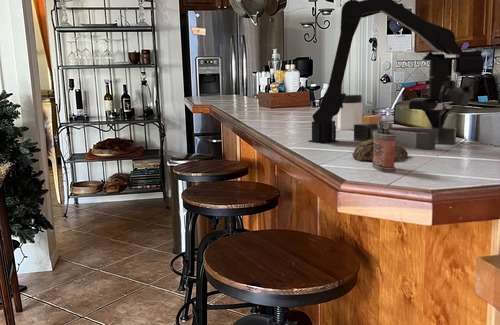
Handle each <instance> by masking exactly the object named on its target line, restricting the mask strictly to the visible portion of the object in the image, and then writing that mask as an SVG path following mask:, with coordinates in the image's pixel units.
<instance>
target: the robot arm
mask: <svg viewBox="0 0 500 325" xmlns="http://www.w3.org/2000/svg"><path fill="white" fill-rule="evenodd" d="M340 13H341V16H340V34H339V39H338V44H337V48H336V52H335V56H334V57H335V58H334V60H333V66H332V69H331V74H330V78H329V82H328V85H327V87H326V89H325V92H324V95H323V96H322V99H321V101H320V104H319V108H318V109H317V110H316V111H315V112H314V113H313V114H312V119H313V121H311V139H309V140H308V141H307V142H309V143H312V144H313V143H315V144H322V145H324V144H332V143H339V142H340V141H339V140H338V139H336V138H337V135H336V134H337V126H336V121H335V120H333V118H334V117H335V116H338V113H339V111H340V107H341V108H342V109H343V100H344V98H345V96H346V95H347V93H345V92H342V90H343V88H342V87H343V86H342V85H343V82H344V77H345V72H346V69H347V63H348V61H349V56H350V52H351V47H352V43H353V40H354V39H353V38H354V36H355V33H356V31H357V29H358V26H359V25H360V22H361V20H362V19H363V18H367V17H371V16H372V15H376V14H380V13H382V14H384V15H385V16H387V17H389V18H391V19H392V20H394V21H396V23H398V24H400V25H401V26H403V27H405V28H407V29H409V30H410V31H412V33H414V34H416V35H417V36H418V37H419V38H420V39H421V40H422V42H424V44H426V45H427V46H428V47H429V48H430V49H431V50H432V51H434V52H437V53H433V52H432V51H428V52H427V53H426V55H424V56H423V57H422V59H421V60H422V61H429V70H428V71H429V72H428V73H429V74H428V77H429V78H428V80H426V81H425V85H428V92H427V94H428V95H425V96H424V97H421V98H420V97H419V98H417V97H416V98H411V99H410V100H409V101H408V110H419V111H420V110H421V111H422V112H424V114H425V115H426V117H427V120H428V121H429V123H430V125H431V128H440V127H443V128H444V125H445V123H446V120H447V119H448V115H450V114H451V113H452V112H454V111H455V110H456V108H452V106H456V107H461V108H462V107H469V102H470V100H471V99H474V98H475V97H474V93H475V92H474V87H472V86H470V85H465V86H464V87H463V88H462V87H458V86H456V85H457V83H456V81H455V80H452V74H453V73H454V74H455V73H456V76H457V77H481V76H482V75H483V73H484V67H485V66H484V65H485V62H484V56H483V50H480V49H477V50H472V51H471V50H469V51H468V50H467V51H463V50H462V49H461V47H460V46H459V45H458V43H457V42H456V35H455V33H454V32H453V31H452V30H451V29H449V28H447V27H444V26H441V25H439V24H435V23H432V22H428V21H427V20H425V19H423V18H422V17H420V16H419V15H417V14H415V13H414V12H413V11H411V10H409V9H408V8H405V6H403V5H401V4H399V3H398V2H396V1H395V0H360V1H359V0H348V1H346V2H344V4H343V5H342V7H341V12H340ZM438 52H439V53H438ZM441 52H443V53H441ZM445 54H446V55H447V56H455V57H446V55H445Z"/></svg>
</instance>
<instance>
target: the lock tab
mask: <svg viewBox="0 0 500 325" xmlns="http://www.w3.org/2000/svg"><path fill="white" fill-rule="evenodd" d="M379 121H382V115H377V114H376V115H374V114H371V115H362V122H361V123H362V124H373V123H377V122H379Z"/></svg>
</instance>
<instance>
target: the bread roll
mask: <svg viewBox="0 0 500 325" xmlns="http://www.w3.org/2000/svg"><path fill="white" fill-rule="evenodd" d="M373 151H374V139H373V140H367V141H363V142H360V143H359V144H358V145H357V146H356V147H355V149H354V151H353V152H352V153H351V154H352V157H353V160H355V161H356V162H357V161H358V162H364V161H365V162H366V161H371V162H373ZM407 158H409V156H408V152H407V150H406V148H405V147H402V146H401V145H395V150H394V163H395V162H396V161H398V162H401V160H402V161H404V160H405V159H407ZM396 163H397V162H396Z"/></svg>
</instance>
